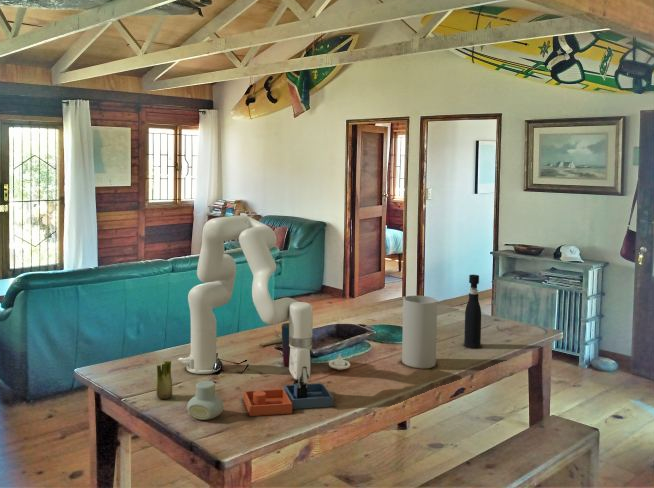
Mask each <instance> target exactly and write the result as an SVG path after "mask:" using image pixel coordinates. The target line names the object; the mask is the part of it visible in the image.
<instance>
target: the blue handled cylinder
mask: <svg viewBox="0 0 654 488" xmlns="http://www.w3.org/2000/svg"><path fill="white" fill-rule="evenodd" d="M293 385H294V398H295V399H297V388H298V383H296V384H294V383H293ZM313 396H322V392H314V393H307V397H313Z"/></svg>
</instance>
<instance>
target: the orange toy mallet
mask: <svg viewBox="0 0 654 488" xmlns="http://www.w3.org/2000/svg"><path fill="white" fill-rule="evenodd" d="M254 391H255V390H254ZM270 404H282V401H281V400H280V401H266V393H265V392H264V391H255V392H254V393H253V406H254V405H270Z"/></svg>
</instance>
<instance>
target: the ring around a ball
mask: <svg viewBox="0 0 654 488" xmlns="http://www.w3.org/2000/svg"><path fill="white" fill-rule="evenodd" d="M328 366H329V367H330V368H332V369H334V370H338V371H342V370H346V369H349V368H350V367H351V363H350V361H348V360H345V359H343V356H342V354H341V353H339V354H338V356H336V359H332V360H330V361H328Z"/></svg>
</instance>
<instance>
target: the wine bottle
mask: <svg viewBox="0 0 654 488" xmlns="http://www.w3.org/2000/svg"><path fill="white" fill-rule="evenodd" d="M468 283H469V284H470V289H469V292H468V301H467V303H466V306H465V310H464V339H463V341H464V342H463V345H464V347H466V348H468V349H480V348H481V343H482V342H481V341H482V339H481V338H482V308H481V305H480V301H479V290H478V285H479V284H480V275H479V274H469V275H468Z"/></svg>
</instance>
